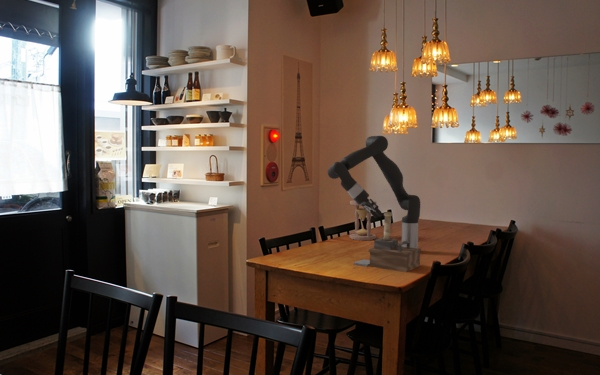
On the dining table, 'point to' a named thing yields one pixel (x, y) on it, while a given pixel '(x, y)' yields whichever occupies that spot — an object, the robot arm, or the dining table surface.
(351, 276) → the dining table surface
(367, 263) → the mat
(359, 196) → the robot arm
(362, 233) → the hourglass
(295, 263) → the dining table surface
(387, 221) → the pin
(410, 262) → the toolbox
